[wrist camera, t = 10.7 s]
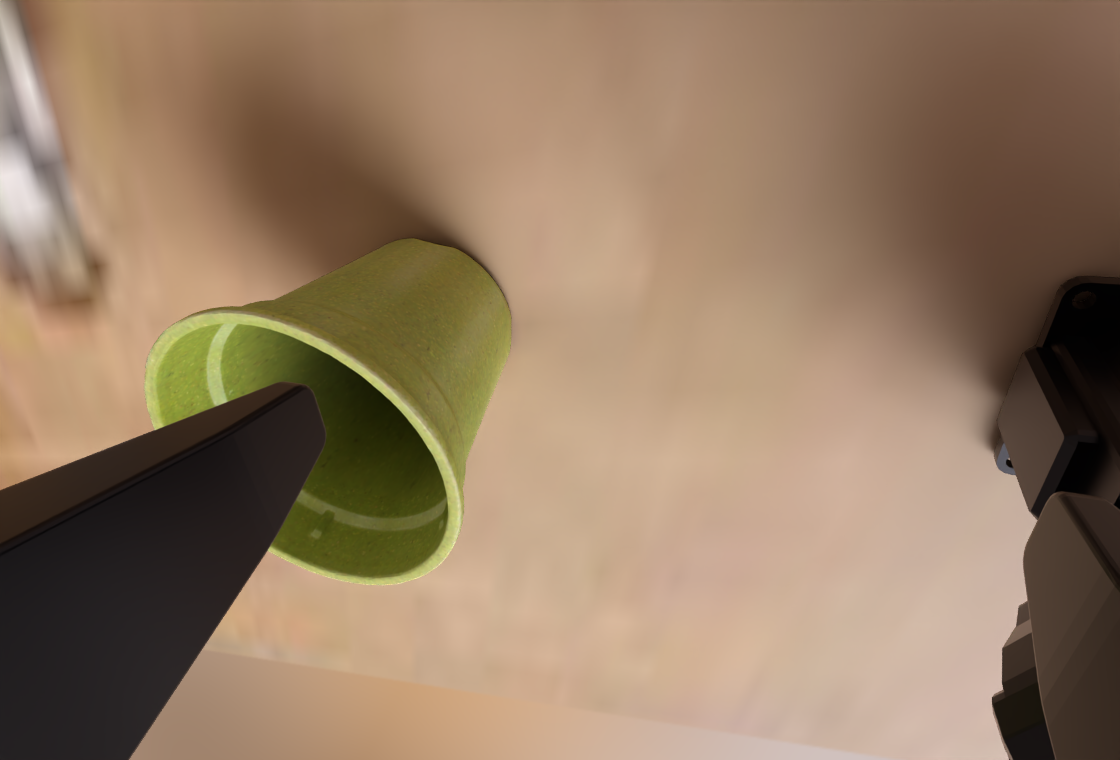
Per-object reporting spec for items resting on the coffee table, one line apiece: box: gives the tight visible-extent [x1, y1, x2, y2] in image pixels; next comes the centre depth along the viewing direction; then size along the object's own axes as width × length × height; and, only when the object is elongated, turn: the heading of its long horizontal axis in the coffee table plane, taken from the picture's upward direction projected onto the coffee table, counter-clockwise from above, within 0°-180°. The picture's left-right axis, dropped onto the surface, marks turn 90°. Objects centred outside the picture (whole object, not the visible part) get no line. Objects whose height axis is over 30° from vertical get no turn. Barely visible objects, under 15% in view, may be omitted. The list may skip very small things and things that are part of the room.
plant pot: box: [144, 238, 511, 585], centre depth 21 cm, size 9×9×9 cm
